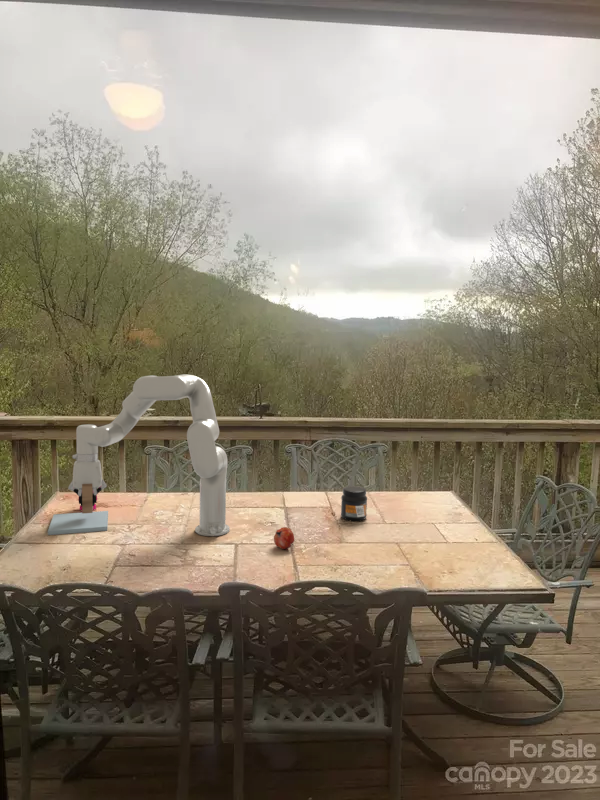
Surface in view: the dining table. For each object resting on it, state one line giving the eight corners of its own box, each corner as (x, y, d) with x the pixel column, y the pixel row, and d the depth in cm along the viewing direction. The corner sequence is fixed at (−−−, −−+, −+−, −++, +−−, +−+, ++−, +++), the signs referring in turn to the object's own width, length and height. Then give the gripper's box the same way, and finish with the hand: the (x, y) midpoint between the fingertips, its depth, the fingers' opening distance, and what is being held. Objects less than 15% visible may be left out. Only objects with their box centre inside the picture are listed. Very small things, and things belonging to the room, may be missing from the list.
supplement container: (363, 523, 217) (364, 493, 216) (337, 519, 220) (338, 490, 219) (368, 515, 227) (370, 487, 226) (344, 512, 230) (345, 484, 229)
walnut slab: (92, 512, 205) (92, 484, 204) (82, 513, 204) (82, 484, 203) (93, 507, 212) (92, 479, 211) (83, 508, 211) (83, 480, 210)
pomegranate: (282, 548, 193) (263, 536, 188) (294, 531, 194) (276, 518, 189) (293, 558, 187) (274, 545, 182) (305, 540, 188) (287, 527, 183)
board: (107, 530, 201) (107, 526, 201) (47, 535, 195) (47, 531, 195) (108, 514, 220) (108, 510, 220) (53, 518, 214) (53, 514, 214)
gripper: (62, 460, 200) (63, 509, 202) (110, 458, 205) (110, 506, 207) (64, 456, 207) (65, 503, 209) (110, 454, 212) (111, 501, 214)
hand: (87, 504), depth 208 cm, fingers closed on walnut slab, 3 cm apart
